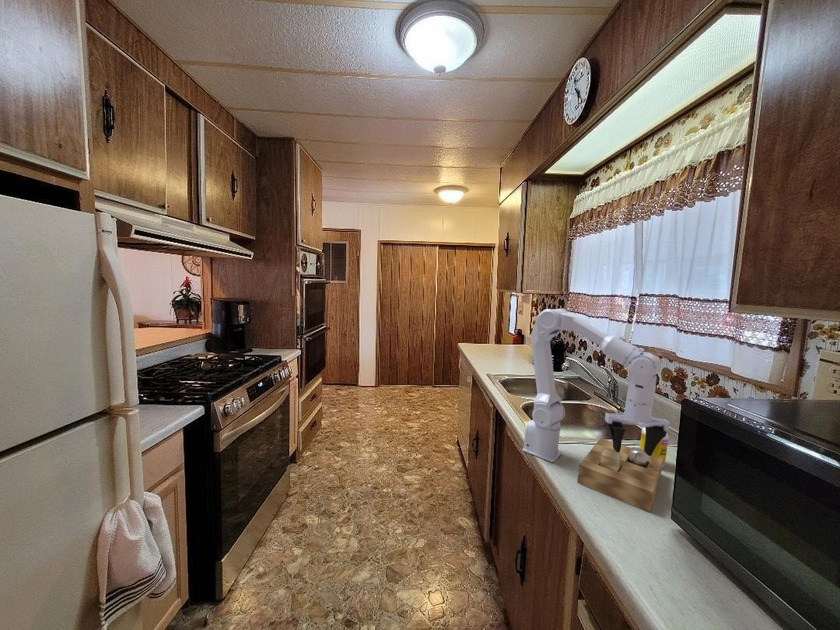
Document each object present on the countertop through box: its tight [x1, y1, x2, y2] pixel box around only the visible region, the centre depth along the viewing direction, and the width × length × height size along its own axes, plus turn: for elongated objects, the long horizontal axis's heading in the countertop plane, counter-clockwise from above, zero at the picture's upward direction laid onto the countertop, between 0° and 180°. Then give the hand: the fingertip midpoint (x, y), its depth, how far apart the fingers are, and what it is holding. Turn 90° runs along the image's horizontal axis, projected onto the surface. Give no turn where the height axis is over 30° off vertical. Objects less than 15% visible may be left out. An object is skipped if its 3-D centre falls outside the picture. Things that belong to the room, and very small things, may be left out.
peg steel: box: [629, 446, 648, 468], centre depth 92 cm, size 4×4×5 cm
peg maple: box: [600, 449, 622, 472], centre depth 89 cm, size 4×4×5 cm
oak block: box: [576, 438, 663, 513], centre depth 92 cm, size 16×22×5 cm
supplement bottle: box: [638, 427, 670, 468], centre depth 101 cm, size 7×7×13 cm
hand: (631, 452), depth 87 cm, fingers open, 7 cm apart
